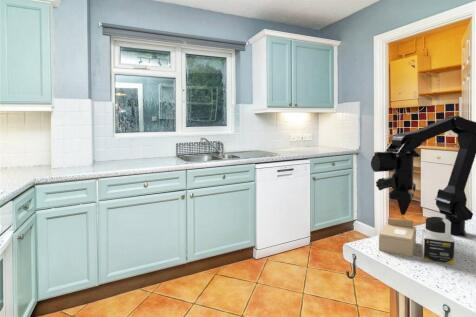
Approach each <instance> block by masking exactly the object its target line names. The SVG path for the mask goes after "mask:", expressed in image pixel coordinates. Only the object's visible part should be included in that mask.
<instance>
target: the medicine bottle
mask: <svg viewBox="0 0 476 317" xmlns="http://www.w3.org/2000/svg"><path fill="white" fill-rule="evenodd" d="M455 241H456V240H455V239H454V237H453V235H451V222H450V221H449V220H447V219H445V217H440V216H429V217H427V218H426V219H425V228H424V229H422V230H421V254H422V258H423V260H425V261H430V262H431V261H432V262H439V263H444V264H452V265H453V264H455Z"/></svg>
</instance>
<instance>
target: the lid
mask: <svg viewBox="0 0 476 317" xmlns="http://www.w3.org/2000/svg"><path fill="white" fill-rule="evenodd" d="M415 229H416V227H415V226H414V220H408V219H403V218H402V219H401V218H393V217H388V218H387V222H386V223H385V224H384V226H383V228H382V229H381V232H379V235H380V236H383V237H389V238H395V239H401V240H407V241H412V238H413V235H414V232H415Z"/></svg>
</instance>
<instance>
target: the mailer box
mask: <svg viewBox="0 0 476 317" xmlns="http://www.w3.org/2000/svg"><path fill="white" fill-rule="evenodd" d="M416 242H417V229H416V228H415V232H414V235H413V238H412V241H407V240H401V239H395V238H389V237H383V236H380V234H379V236H378V251H382V252H386V253H391V254H396V255H401V256H407V257H413V254H414V251H415V247H416V245H417V244H416Z"/></svg>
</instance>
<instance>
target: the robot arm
mask: <svg viewBox="0 0 476 317" xmlns="http://www.w3.org/2000/svg"><path fill="white" fill-rule="evenodd" d="M450 131H451V132H452V133H454V134H456V135H457V138H456V140H457V143H458V146H459V148H458V151H457V155H456V158H455V161H454V163H453V167H452V170H451V173H450V177H449V180H448V183H447V185H446V186H445V188H443V189H440V188H439V189H438V190H437V195H436V197H435V199H434V201H435V206H436V207H437V208H438V210H439V213H440V214H442V215H444V218H445V219H447V220H449V221H450V222H451V235H452V236H460V237H467V232H466V221H470V220H472V218H473V216H474V213H473V212H472V210H471V209H469V208H468V207H467V201H468V200H467V196H466V192H465V189H466V186H467V183H468V180H469V177H470V174H471V170H472V168H473V164H474V161H475V158H476V121H474V120H470V119H466V118H464V117H462V116H460V115H450V116H446V117H445V118H442V119H440V120H438V121H435V122H434V123H431V124H429V125H428V124H427V125H426V126H424V127H423V126H422V128H419V129H416V130H411V131H410V130H409V131H405V132H399V133H396V134H394V135H393V137H392V139H391V142H389V145H388V146H387V147H386V149H385V150H384V151H375V152H374V155H373V156H372V158H371V161H370V167H371V169H372V171H373V172H375V173H378V172H379V173H380V172H382V173H383V172H393V173H392V175H391V176H389V177H382V178H378V179H377V180H376V181H375V184H376V186H375V187H376V188H377V189H378V191H383V190H385V189H389V188H391V190H390V191H389V193H388V194H389V196H388V198H389V199H390V200H394V201H395V200H396V201H397V204H398V208H399V213H400V214H401V216H406V213H407V211H408V209H409V206H410V204H411V203H412V200H413V198H414V196H415V194H414V193H413V192H416V190H417V184H416V183H415V182H414V175H415V173H414V159H415V158H420V157H421V155H420V154H419V153H418V152H417V151H416V149H417V148H419V147H420V146H422V144H423V143H424V142H426V141H427V140H430V139H432V138H435V137H438V136H440V135H443V134H445V133H447V132H450ZM412 191H413V192H412Z"/></svg>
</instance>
